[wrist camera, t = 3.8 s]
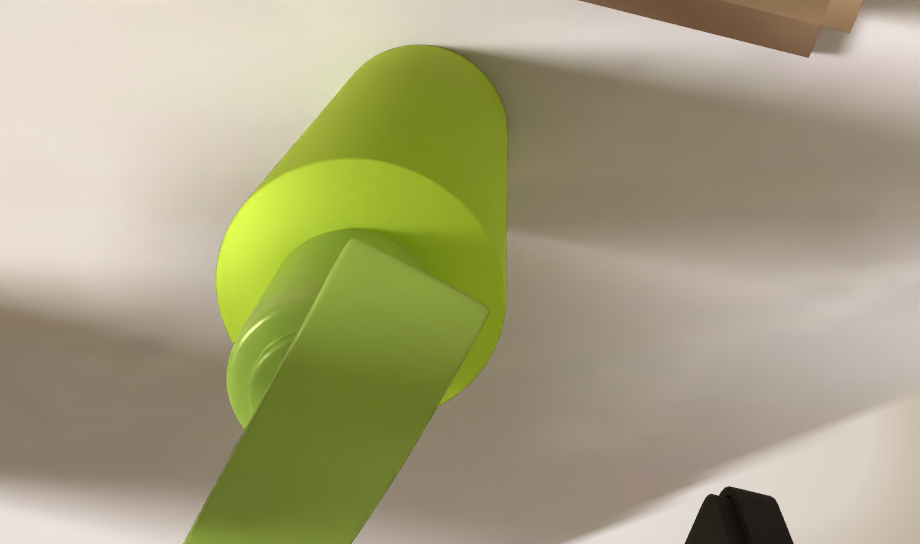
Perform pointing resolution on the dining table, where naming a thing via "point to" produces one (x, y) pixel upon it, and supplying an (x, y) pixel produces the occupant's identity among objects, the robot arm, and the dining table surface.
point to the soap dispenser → (359, 296)
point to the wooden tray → (751, 18)
